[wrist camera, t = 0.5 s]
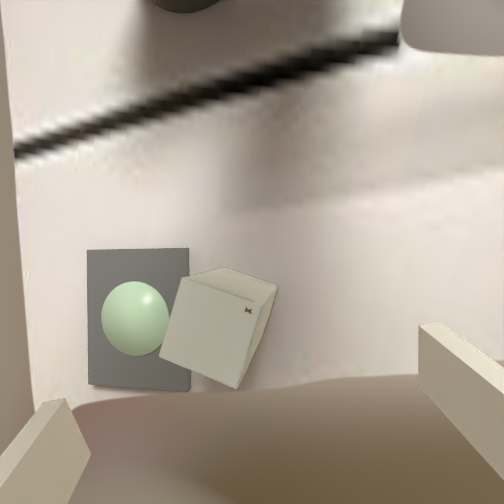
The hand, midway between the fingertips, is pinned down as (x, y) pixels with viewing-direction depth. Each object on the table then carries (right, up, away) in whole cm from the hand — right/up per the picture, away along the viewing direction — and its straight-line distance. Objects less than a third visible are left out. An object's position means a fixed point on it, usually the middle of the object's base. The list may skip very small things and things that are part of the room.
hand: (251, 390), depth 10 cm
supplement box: (-1, -1, +24) cm, 24 cm away
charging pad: (-15, -4, +27) cm, 31 cm away
